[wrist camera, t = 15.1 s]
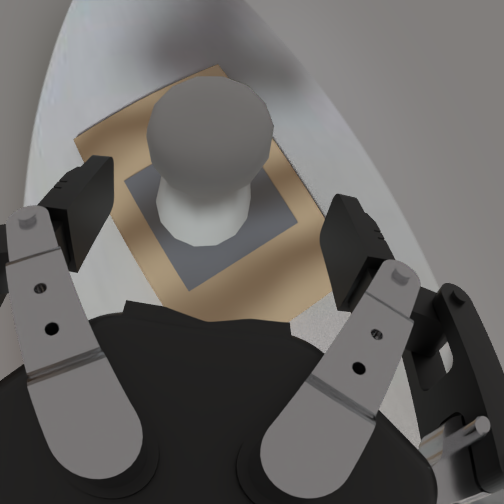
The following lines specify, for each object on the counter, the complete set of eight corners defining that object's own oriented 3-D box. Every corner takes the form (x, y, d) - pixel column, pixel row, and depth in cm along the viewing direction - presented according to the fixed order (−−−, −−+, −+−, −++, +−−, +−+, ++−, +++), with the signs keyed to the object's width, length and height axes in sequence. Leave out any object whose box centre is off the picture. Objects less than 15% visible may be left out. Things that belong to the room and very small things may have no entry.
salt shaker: (170, 162, 22) (150, 38, 9) (250, 176, 23) (309, 67, 10) (153, 243, 21) (96, 190, 9) (236, 257, 22) (290, 224, 9)
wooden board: (353, 272, 24) (357, 272, 24) (208, 371, 22) (209, 374, 21) (217, 67, 24) (217, 63, 23) (75, 141, 21) (73, 138, 21)
